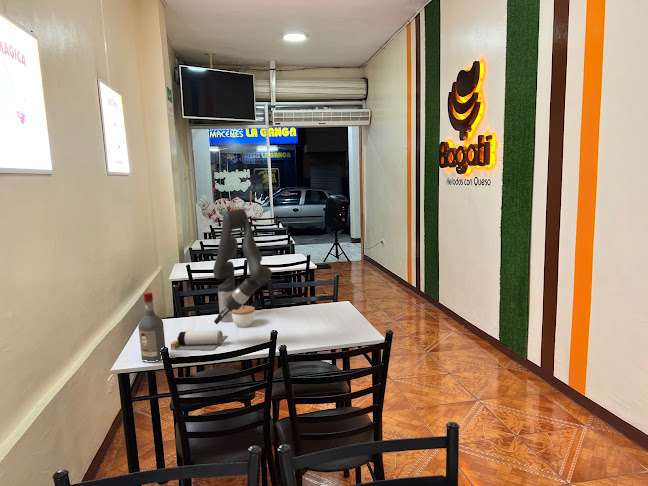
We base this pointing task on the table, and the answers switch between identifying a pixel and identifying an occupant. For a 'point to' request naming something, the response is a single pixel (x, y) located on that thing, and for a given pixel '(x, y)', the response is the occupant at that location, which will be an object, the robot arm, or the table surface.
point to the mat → (200, 346)
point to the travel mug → (200, 337)
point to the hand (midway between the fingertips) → (215, 322)
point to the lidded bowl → (243, 316)
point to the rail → (175, 344)
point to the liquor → (151, 332)
